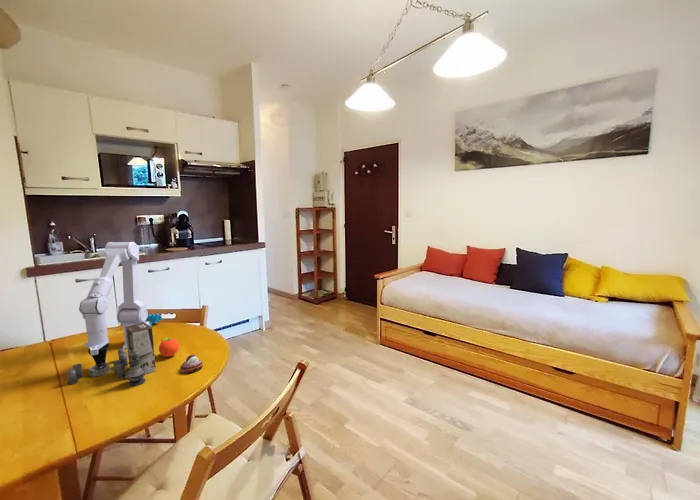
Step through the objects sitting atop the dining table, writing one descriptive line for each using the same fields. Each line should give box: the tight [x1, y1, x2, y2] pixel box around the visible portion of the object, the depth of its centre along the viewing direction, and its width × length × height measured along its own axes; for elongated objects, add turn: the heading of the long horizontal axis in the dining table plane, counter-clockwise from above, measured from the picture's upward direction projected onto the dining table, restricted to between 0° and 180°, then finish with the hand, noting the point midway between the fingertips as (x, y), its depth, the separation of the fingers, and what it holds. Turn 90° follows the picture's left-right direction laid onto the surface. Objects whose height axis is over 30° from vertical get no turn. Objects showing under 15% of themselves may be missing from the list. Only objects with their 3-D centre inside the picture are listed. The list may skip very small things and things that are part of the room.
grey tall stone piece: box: [125, 349, 147, 388], centre depth 109 cm, size 6×6×12 cm
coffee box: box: [125, 322, 157, 375], centre depth 117 cm, size 9×6×16 cm
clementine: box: [158, 337, 180, 358], centre depth 128 cm, size 8×7×7 cm
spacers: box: [66, 347, 129, 386], centre depth 116 cm, size 16×17×4 cm
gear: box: [145, 312, 163, 328], centre depth 157 cm, size 11×6×10 cm
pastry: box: [179, 354, 204, 374], centre depth 118 cm, size 8×8×5 cm
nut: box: [88, 362, 111, 378], centre depth 116 cm, size 6×5×2 cm
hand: (101, 365), depth 119 cm, fingers closed
